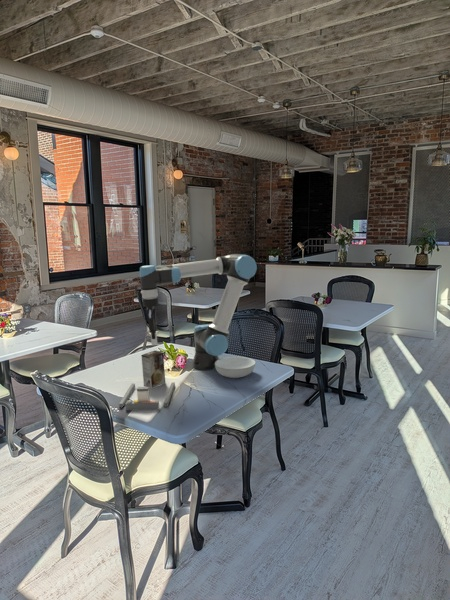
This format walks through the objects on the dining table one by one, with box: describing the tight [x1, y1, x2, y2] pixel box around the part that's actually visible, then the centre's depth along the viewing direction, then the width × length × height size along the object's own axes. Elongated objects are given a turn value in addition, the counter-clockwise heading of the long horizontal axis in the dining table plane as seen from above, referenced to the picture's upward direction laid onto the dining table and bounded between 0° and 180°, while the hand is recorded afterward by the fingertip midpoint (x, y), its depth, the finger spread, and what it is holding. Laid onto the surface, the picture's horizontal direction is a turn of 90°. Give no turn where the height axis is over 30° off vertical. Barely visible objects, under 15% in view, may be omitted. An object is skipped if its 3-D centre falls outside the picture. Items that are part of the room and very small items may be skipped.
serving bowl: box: [215, 356, 256, 379], centre depth 226 cm, size 21×21×7 cm
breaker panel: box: [118, 382, 176, 411], centre depth 201 cm, size 21×26×4 cm
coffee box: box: [141, 350, 166, 389], centre depth 216 cm, size 9×6×16 cm
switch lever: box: [136, 386, 151, 402], centre depth 192 cm, size 5×4×8 cm
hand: (154, 344), depth 216 cm, fingers closed
